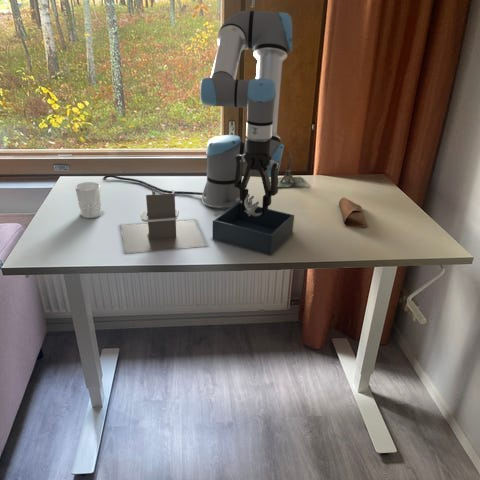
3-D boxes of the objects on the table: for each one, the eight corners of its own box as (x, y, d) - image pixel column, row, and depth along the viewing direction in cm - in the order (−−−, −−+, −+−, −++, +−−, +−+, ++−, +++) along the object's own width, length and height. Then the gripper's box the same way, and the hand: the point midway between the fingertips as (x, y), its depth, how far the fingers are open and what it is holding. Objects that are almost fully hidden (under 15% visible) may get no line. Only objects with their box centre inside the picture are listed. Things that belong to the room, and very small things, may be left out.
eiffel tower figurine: (300, 177, 211) (304, 145, 203) (309, 186, 203) (313, 153, 195) (266, 179, 208) (268, 146, 200) (273, 188, 200) (276, 154, 192)
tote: (212, 239, 162) (212, 220, 158) (237, 219, 175) (238, 201, 171) (270, 255, 155) (272, 235, 151) (292, 233, 168) (294, 215, 164)
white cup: (107, 212, 176) (104, 184, 170) (93, 220, 170) (89, 192, 164) (89, 207, 179) (85, 180, 173) (74, 215, 173) (70, 187, 167)
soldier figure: (265, 209, 165) (267, 213, 154) (254, 219, 166) (255, 223, 155) (249, 191, 163) (250, 193, 152) (238, 201, 164) (238, 204, 153)
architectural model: (120, 225, 168) (115, 183, 159) (194, 219, 174) (193, 178, 165) (125, 253, 152) (120, 207, 144) (206, 246, 158) (206, 201, 150)
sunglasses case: (368, 226, 173) (361, 210, 170) (349, 235, 175) (342, 219, 172) (360, 205, 188) (354, 190, 184) (343, 214, 190) (336, 199, 187)
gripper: (223, 135, 147) (222, 209, 161) (284, 146, 140) (277, 223, 154) (235, 129, 153) (233, 202, 166) (294, 140, 146) (287, 214, 159)
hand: (254, 212), depth 160 cm, fingers closed on soldier figure, 6 cm apart
